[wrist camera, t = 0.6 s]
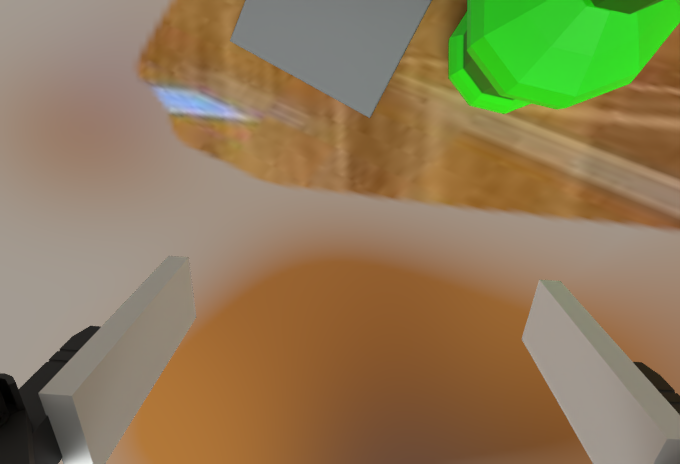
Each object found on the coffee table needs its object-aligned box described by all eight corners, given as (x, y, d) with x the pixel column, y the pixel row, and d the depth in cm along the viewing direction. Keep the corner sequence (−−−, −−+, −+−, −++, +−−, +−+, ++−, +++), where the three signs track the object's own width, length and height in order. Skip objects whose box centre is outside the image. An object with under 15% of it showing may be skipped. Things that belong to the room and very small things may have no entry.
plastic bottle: (532, 128, 38) (754, 120, 14) (425, 101, 39) (459, 50, 15) (574, 15, 35) (940, -237, 11) (458, -11, 36) (566, -296, 12)
